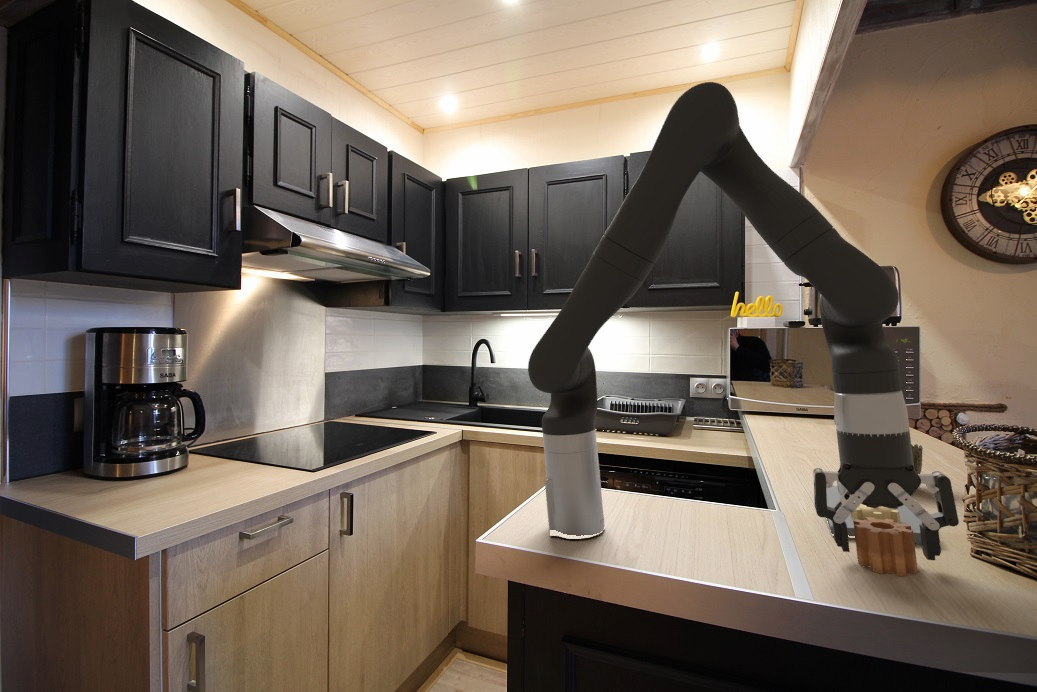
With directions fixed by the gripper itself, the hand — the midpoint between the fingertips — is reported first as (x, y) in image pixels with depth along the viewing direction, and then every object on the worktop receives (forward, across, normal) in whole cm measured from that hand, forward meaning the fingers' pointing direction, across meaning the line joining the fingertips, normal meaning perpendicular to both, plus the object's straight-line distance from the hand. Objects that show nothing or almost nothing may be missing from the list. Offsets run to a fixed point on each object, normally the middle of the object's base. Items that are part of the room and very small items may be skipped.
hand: (886, 553), depth 59 cm
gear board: (+2, +1, +19) cm, 19 cm away
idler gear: (+2, 0, 0) cm, 2 cm away
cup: (+2, +9, +37) cm, 38 cm away
